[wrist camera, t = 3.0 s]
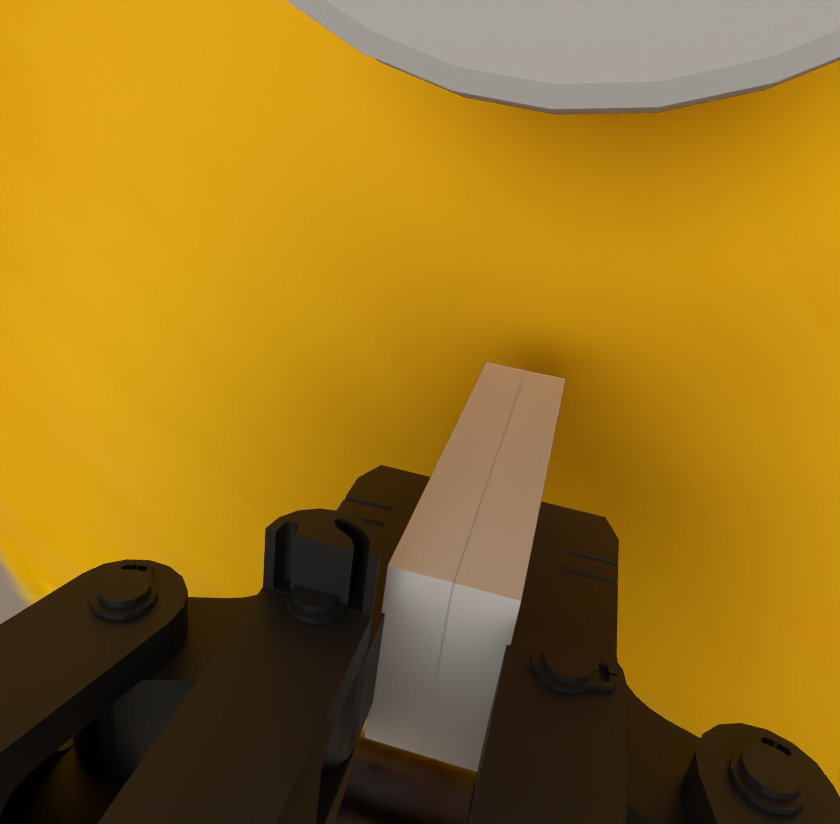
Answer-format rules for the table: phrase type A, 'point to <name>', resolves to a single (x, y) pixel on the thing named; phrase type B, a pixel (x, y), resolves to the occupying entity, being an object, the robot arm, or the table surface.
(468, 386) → the table surface
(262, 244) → the table surface
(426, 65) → the canned food
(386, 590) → the robot arm
